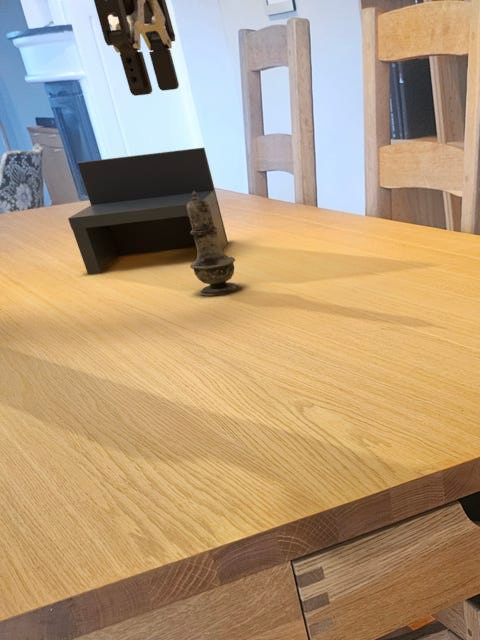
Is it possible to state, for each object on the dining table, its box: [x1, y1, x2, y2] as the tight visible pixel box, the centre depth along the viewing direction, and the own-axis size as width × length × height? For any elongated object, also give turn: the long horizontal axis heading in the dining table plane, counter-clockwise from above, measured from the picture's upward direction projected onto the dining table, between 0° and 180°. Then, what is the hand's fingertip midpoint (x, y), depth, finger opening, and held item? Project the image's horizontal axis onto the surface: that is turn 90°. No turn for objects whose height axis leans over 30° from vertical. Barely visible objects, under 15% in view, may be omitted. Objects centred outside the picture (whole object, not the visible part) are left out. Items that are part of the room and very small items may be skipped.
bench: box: [67, 147, 229, 275], centre depth 131 cm, size 20×14×14 cm
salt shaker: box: [187, 191, 241, 297], centre depth 108 cm, size 6×6×12 cm
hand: (156, 92), depth 92 cm, fingers open, 8 cm apart
